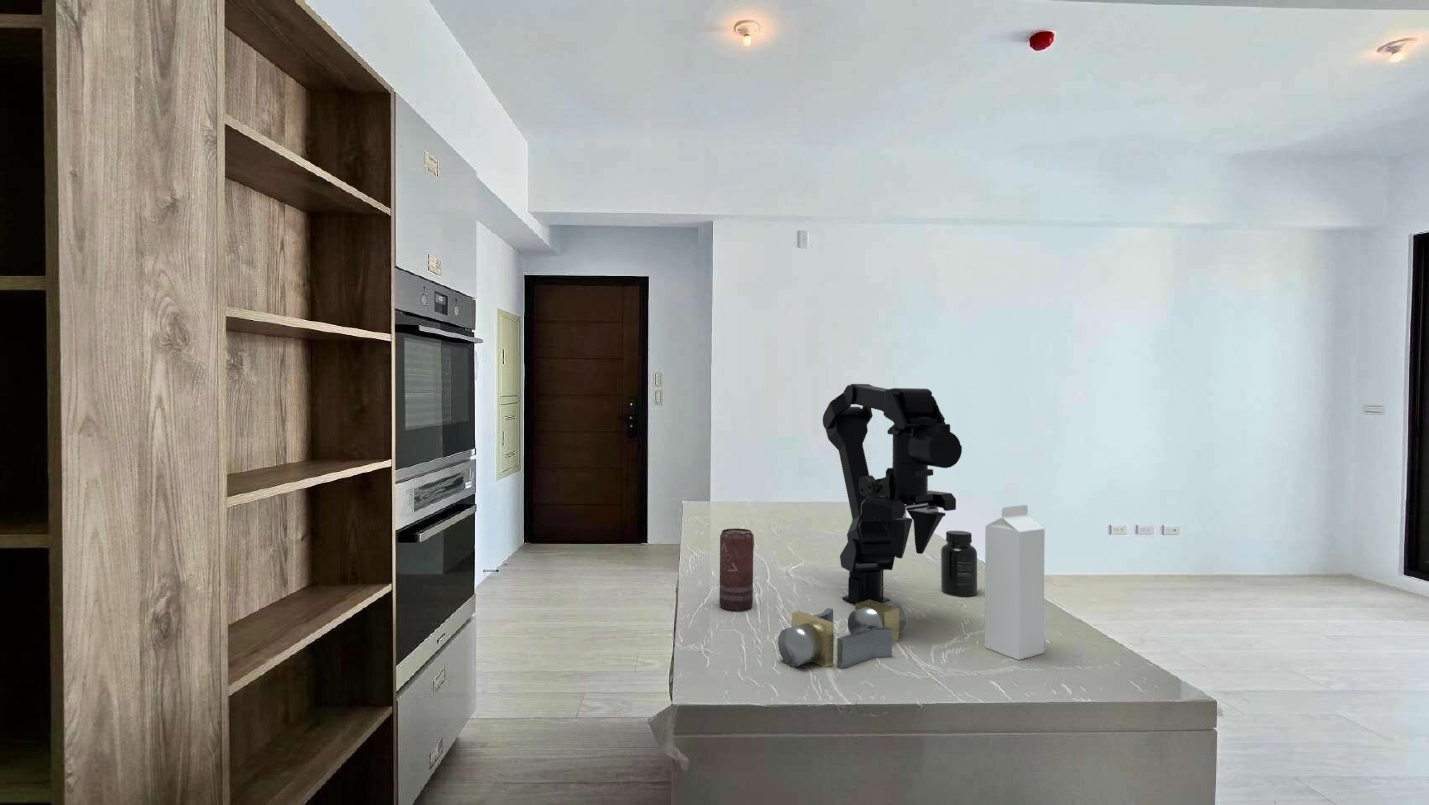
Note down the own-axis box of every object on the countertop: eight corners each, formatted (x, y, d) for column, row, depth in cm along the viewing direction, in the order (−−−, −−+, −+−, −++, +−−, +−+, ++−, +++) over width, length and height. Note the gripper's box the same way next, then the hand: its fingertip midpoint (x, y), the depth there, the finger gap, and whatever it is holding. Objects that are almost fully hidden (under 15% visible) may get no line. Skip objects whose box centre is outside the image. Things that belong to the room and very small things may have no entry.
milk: (1044, 654, 100) (1046, 507, 100) (1018, 661, 97) (1020, 510, 97) (1008, 641, 105) (1010, 502, 105) (983, 647, 102) (985, 504, 102)
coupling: (828, 632, 109) (829, 595, 109) (893, 655, 98) (894, 615, 98) (760, 652, 99) (760, 612, 99) (824, 681, 89) (824, 636, 89)
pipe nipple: (878, 628, 111) (878, 597, 111) (907, 638, 106) (907, 605, 106) (846, 638, 106) (846, 606, 106) (875, 649, 101) (875, 615, 101)
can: (751, 612, 118) (752, 534, 118) (716, 610, 120) (717, 532, 120) (756, 603, 124) (756, 528, 124) (722, 600, 126) (723, 526, 126)
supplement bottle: (980, 591, 134) (980, 531, 134) (973, 599, 128) (973, 537, 128) (945, 586, 137) (945, 528, 137) (936, 593, 132) (937, 533, 132)
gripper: (904, 457, 123) (903, 541, 123) (836, 461, 112) (835, 554, 112) (958, 461, 115) (957, 551, 115) (890, 466, 103) (889, 567, 103)
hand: (909, 555), depth 111 cm, fingers open, 5 cm apart
